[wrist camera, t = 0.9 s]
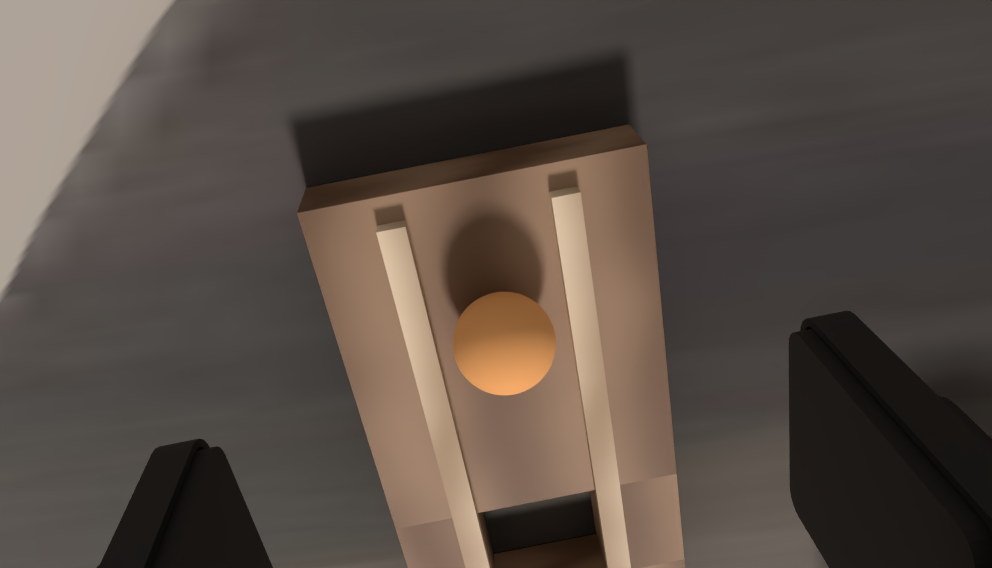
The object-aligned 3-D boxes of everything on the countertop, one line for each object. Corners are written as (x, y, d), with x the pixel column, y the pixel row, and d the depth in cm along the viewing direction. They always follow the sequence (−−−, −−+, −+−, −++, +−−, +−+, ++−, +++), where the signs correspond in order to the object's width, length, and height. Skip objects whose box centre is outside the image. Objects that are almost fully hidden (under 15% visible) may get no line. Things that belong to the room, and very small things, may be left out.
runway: (629, 124, 29) (651, 149, 26) (675, 586, 40) (694, 638, 37) (306, 188, 29) (294, 219, 26) (440, 632, 40) (442, 687, 37)
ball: (540, 265, 29) (555, 313, 25) (554, 349, 30) (570, 404, 27) (441, 284, 29) (444, 335, 25) (461, 368, 30) (466, 425, 27)
